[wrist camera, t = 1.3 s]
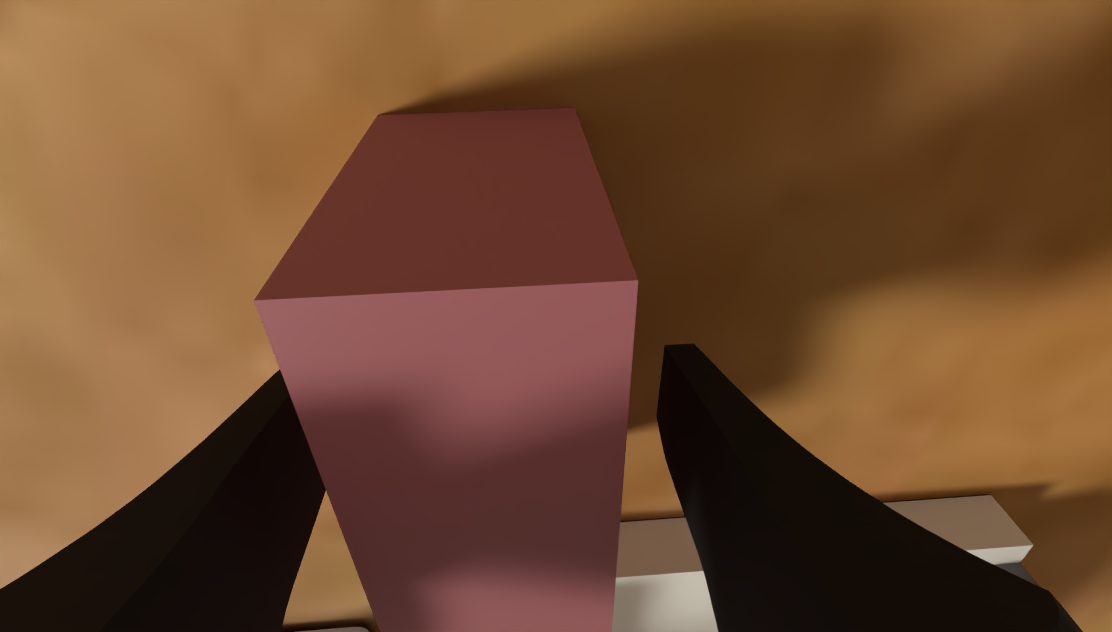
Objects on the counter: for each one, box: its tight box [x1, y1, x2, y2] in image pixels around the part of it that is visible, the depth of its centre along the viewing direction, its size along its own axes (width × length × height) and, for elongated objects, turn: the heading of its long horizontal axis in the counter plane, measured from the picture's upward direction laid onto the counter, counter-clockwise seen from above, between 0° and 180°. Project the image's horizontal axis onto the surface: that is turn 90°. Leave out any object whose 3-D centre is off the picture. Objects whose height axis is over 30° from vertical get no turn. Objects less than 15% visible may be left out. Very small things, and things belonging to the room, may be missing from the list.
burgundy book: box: [254, 108, 638, 632], centre depth 12 cm, size 4×10×7 cm, turn 1°
